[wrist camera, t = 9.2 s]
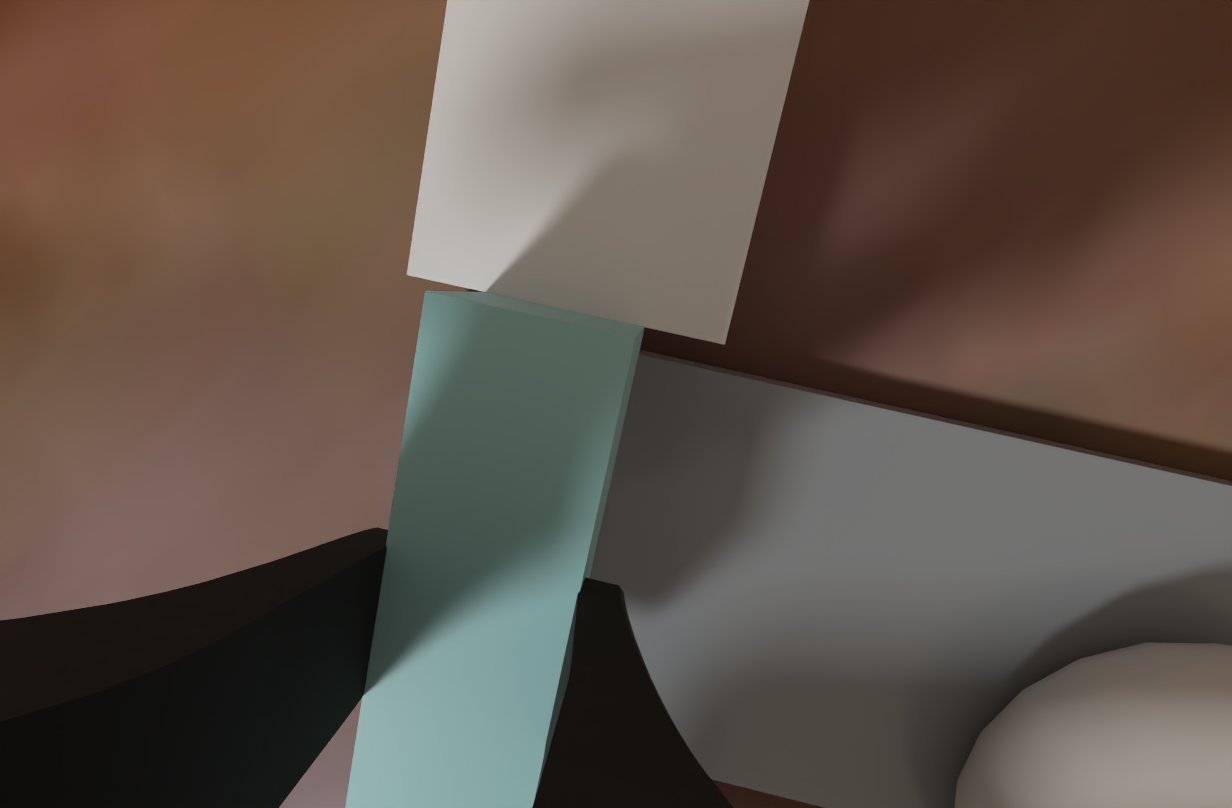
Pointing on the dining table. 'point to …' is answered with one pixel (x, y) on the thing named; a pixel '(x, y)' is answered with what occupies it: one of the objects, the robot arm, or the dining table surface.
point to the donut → (1112, 735)
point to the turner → (547, 346)
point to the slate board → (881, 576)
